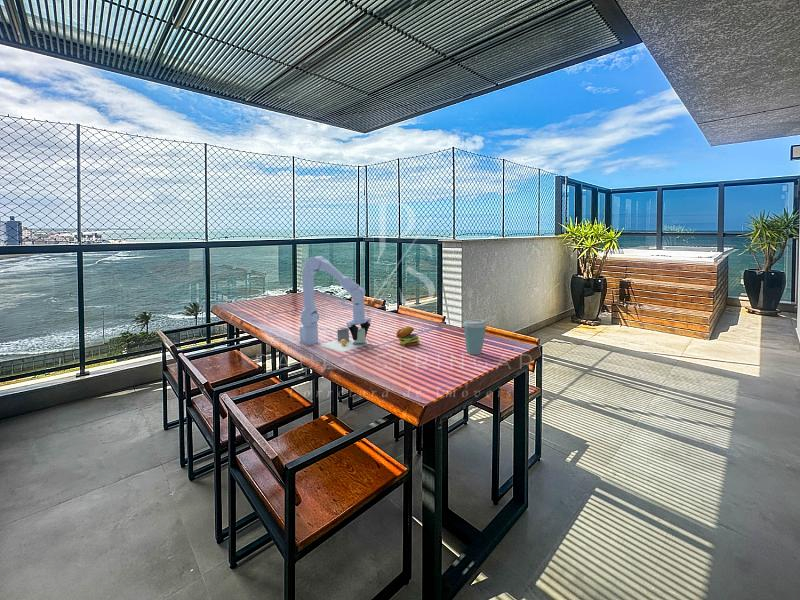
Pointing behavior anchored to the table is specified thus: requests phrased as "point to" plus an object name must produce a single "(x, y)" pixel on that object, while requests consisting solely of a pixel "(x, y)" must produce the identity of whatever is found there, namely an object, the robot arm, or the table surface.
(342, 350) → the mat
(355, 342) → the coaster
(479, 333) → the disposable coffee cup
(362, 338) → the green acorn nut
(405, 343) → the cheeseburger
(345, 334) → the grey acorn nut
